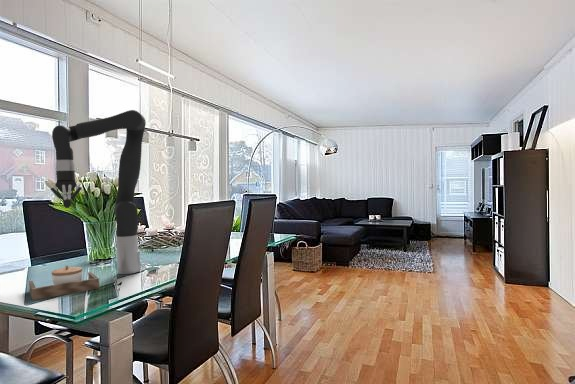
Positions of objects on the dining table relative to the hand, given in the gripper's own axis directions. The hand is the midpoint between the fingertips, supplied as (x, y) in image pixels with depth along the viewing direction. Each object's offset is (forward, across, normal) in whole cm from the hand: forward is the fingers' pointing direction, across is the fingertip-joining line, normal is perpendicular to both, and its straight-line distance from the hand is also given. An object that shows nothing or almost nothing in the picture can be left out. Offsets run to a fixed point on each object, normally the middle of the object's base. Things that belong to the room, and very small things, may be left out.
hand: (67, 207), depth 183 cm
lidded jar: (+31, -5, -27) cm, 42 cm away
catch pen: (+31, -6, -27) cm, 42 cm away
